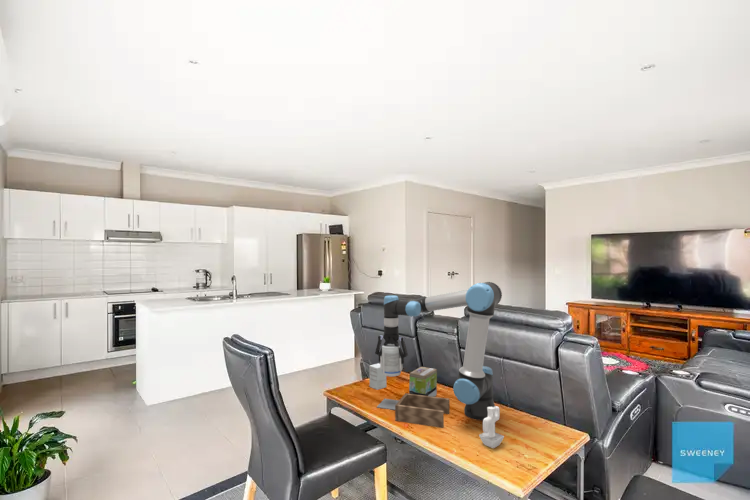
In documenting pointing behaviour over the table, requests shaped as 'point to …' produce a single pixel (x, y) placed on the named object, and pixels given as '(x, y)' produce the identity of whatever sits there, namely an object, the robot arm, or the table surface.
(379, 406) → the grey mat
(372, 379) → the supplement box
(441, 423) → the walnut box
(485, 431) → the figurine
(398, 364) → the supplement tub
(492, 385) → the robot arm
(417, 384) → the tea box
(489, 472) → the table surface
